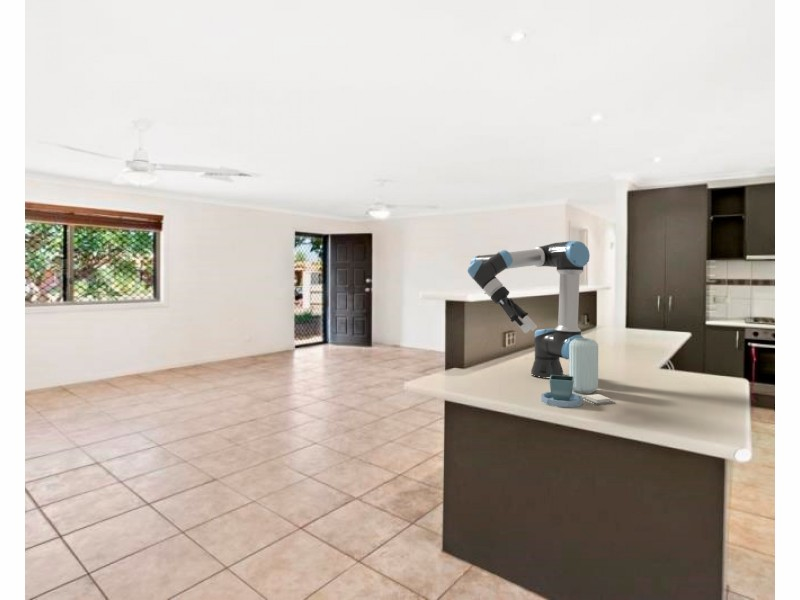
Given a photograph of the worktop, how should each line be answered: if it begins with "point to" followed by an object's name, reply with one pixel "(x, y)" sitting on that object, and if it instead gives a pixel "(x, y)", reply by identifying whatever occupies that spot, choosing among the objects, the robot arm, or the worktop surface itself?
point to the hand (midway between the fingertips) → (531, 330)
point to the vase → (584, 364)
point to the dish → (573, 402)
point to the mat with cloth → (598, 399)
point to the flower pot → (561, 387)
